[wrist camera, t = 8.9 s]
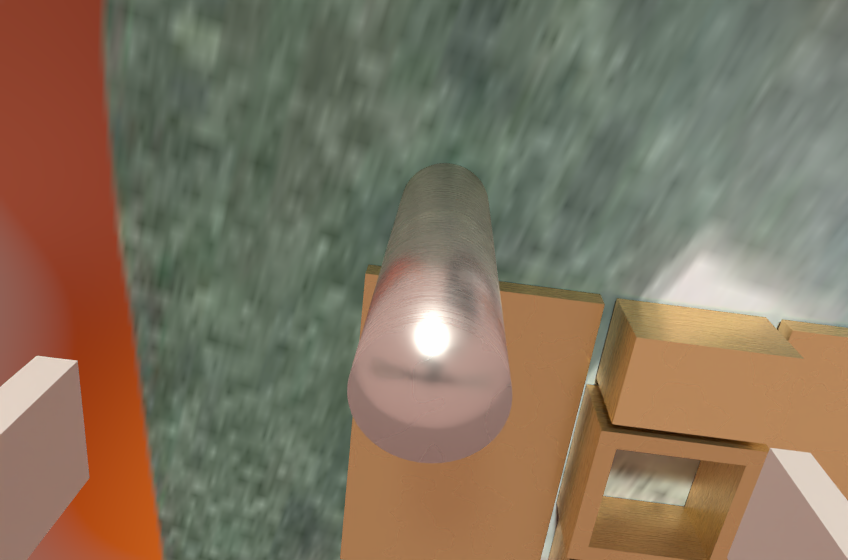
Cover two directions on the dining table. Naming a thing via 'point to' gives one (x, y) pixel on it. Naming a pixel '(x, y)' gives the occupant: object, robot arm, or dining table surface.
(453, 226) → the pin
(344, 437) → the dining table surface
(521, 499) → the fixed leaf
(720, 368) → the hinge flap with knuckles
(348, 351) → the dining table surface
